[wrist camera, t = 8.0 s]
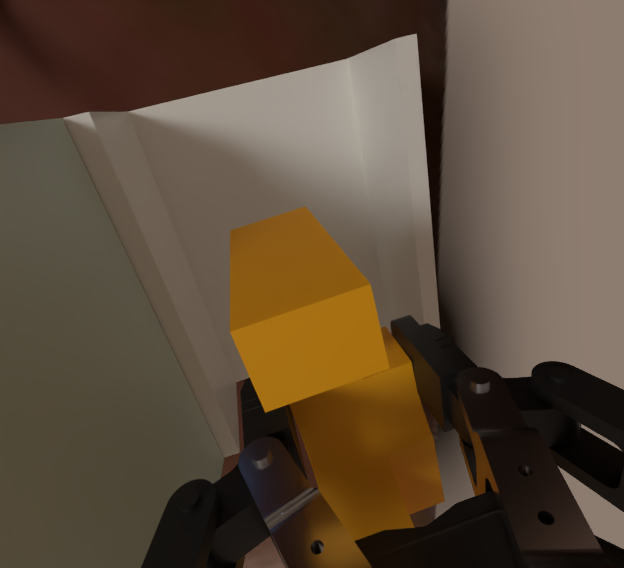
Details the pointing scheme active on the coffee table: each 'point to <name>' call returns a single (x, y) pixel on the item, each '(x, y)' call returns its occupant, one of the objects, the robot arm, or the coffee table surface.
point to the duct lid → (81, 373)
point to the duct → (268, 196)
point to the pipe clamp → (332, 371)
